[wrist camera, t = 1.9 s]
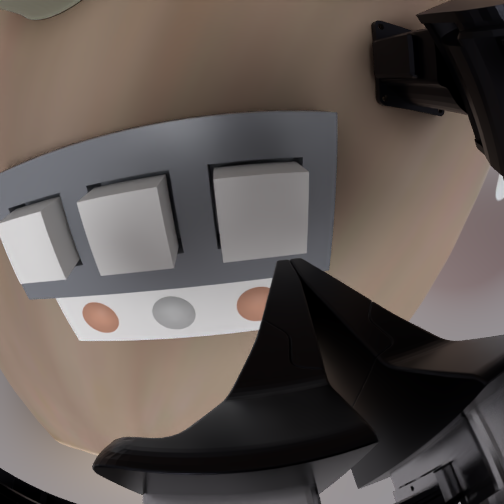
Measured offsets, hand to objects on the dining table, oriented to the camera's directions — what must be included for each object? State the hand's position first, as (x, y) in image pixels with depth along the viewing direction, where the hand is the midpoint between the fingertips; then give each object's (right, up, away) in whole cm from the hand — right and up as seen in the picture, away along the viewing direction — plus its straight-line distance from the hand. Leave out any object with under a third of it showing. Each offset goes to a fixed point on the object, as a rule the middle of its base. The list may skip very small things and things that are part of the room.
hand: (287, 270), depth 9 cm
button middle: (-8, +3, +5) cm, 10 cm away
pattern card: (-8, -4, +12) cm, 15 cm away
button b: (-1, +3, +6) cm, 7 cm away
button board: (-8, +4, +8) cm, 12 cm away
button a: (-15, +2, +5) cm, 16 cm away
